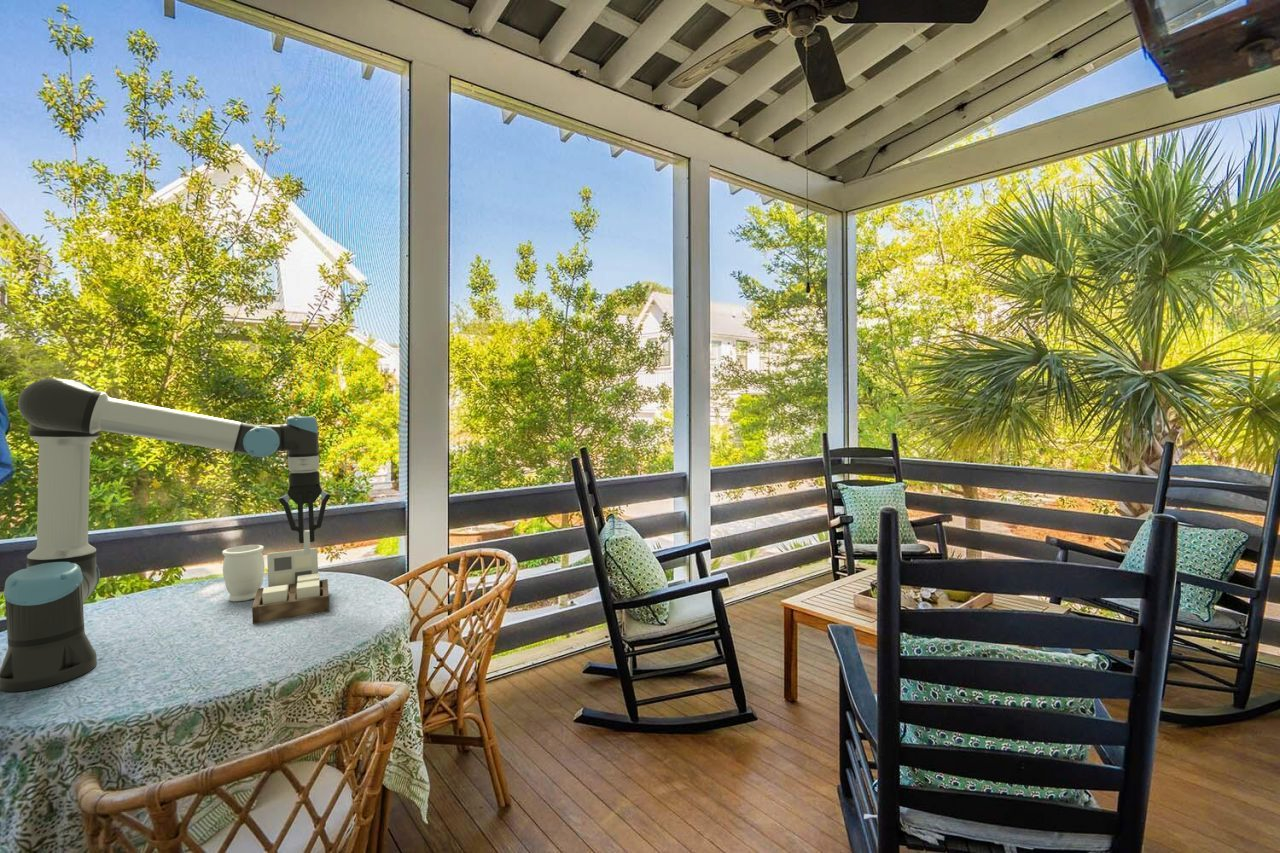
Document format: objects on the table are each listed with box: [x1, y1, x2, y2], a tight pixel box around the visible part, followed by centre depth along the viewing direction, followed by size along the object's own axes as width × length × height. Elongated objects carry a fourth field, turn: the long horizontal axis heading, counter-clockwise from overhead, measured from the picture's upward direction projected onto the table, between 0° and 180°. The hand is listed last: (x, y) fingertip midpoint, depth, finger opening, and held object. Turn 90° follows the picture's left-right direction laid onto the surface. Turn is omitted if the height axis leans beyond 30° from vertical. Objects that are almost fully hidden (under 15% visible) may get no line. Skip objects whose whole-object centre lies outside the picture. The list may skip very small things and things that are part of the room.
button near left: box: [262, 585, 288, 604], centre depth 161 cm, size 6×6×4 cm
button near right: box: [297, 579, 320, 599], centre depth 165 cm, size 6×6×4 cm
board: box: [251, 578, 330, 625], centre depth 167 cm, size 18×18×4 cm
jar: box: [222, 544, 265, 602], centre depth 176 cm, size 11×10×15 cm
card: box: [266, 547, 319, 587], centre depth 176 cm, size 13×1×14 cm, turn 119°
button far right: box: [297, 572, 320, 586], centre depth 172 cm, size 6×6×4 cm
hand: (307, 553), depth 165 cm, fingers closed
